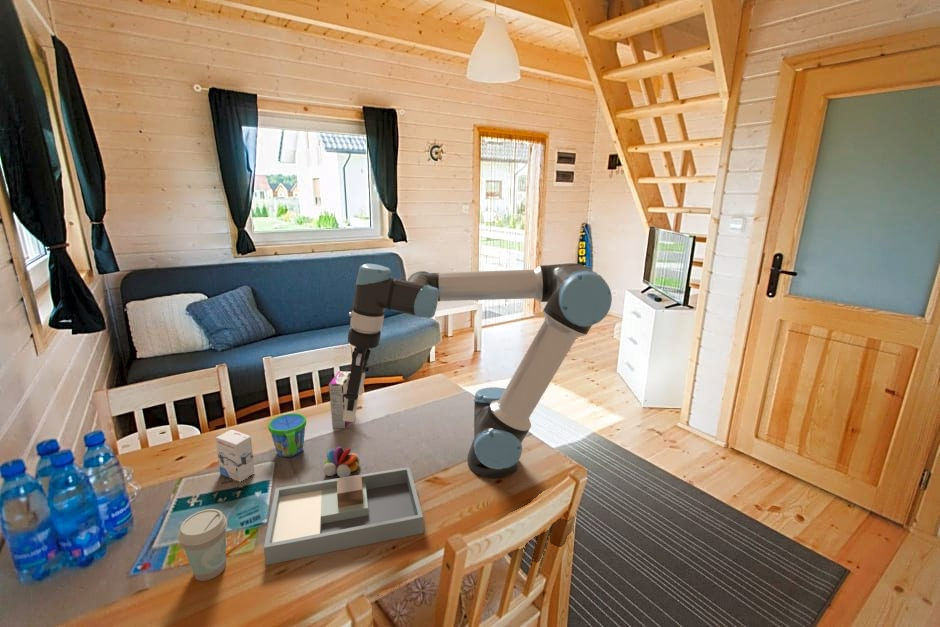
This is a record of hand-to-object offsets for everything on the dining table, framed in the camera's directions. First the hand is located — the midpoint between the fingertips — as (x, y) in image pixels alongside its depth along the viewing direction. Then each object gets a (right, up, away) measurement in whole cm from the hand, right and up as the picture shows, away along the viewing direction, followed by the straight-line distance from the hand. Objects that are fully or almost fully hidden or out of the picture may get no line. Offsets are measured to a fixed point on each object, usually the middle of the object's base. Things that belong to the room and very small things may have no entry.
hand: (352, 406), depth 111 cm
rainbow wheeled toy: (-7, -22, +15) cm, 27 cm away
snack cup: (-25, -19, +23) cm, 39 cm away
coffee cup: (-25, -30, -19) cm, 44 cm away
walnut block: (0, -23, 0) cm, 23 cm away
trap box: (0, -26, -4) cm, 27 cm away
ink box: (-36, -22, +12) cm, 43 cm away
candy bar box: (-14, -14, +42) cm, 46 cm away
